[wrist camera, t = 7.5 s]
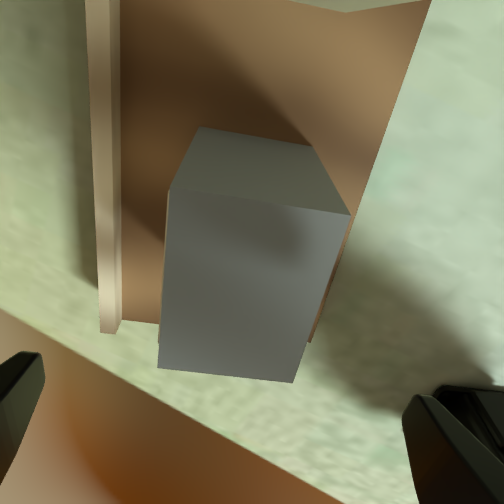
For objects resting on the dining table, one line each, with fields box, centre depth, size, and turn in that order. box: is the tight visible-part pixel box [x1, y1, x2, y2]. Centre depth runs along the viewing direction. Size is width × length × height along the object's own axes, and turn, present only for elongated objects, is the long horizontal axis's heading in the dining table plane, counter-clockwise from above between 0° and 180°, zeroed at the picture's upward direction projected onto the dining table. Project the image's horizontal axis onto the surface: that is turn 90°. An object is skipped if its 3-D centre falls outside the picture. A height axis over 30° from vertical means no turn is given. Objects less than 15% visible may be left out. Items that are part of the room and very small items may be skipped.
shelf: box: [85, 0, 432, 343], centre depth 16 cm, size 24×12×3 cm, turn 170°
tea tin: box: [157, 126, 351, 383], centre depth 15 cm, size 5×7×7 cm
